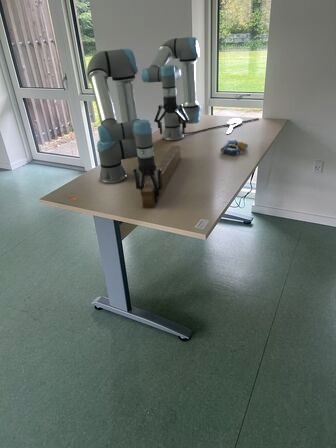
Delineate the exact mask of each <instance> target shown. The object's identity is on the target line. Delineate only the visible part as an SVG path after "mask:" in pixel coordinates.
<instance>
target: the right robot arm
mask: <svg viewBox="0 0 336 448" xmlns="http://www.w3.org/2000/svg"><path fill="white" fill-rule="evenodd" d="M200 50H201V49H200V45H199V41H198V38H196V37H194V36H188V37H178V38H177V37H176V38H171V39H168V40H166V41H165V42H164V43H163V44H161V46H160V47H159V48H158V50H157V54H156V56H155V58H154V59H153V61H152V62H151V64H150V65H149V67H145V68H142V70H141V73H140V75H141V80H142V82H143V83H148V84H150V83H161V87H162V88H161V89H162V96H163V97H162V99H163V105H162V104H159V105H158V107H157V111H156V115H155V117H154V120H153V122H154V123H157V129H159V135H162V134H163V135H162V139H163V140H164V141H167V142H176V141H180V140H182V139H184V137H185V136H184V135H190V134H191V135H192V134H196V133H197V134H198V133H200V132H204V131H207V130H213V129H216V128H222V127H227V126H229V125H228V123H227V124H221V125H216V126H212V127H207V128H203V129H199V130H196V131H190V132H188V131H187V132H186V129H187V125H194V124H196V125H197V124H199V122H200V121H201V116H202V106H200V105H199V102H198V101H197V87H196V86H197V85H196V84H197V81H196V63H197V61H198V58H200V52H201V51H200ZM173 59H176V60H178V61H179V63H180V64H181V68H180V67H179V66H176V65H174V64H167V63H168V62H170V61H171V60H173ZM181 75H182V93H183V95H182V96H183V102H182V103H181V104H179V103H178V98H177V85H176V83H177V81H178V80H179V79H180V78H181ZM162 109H163V113H161V111H162ZM160 114H161V116H160ZM162 120H163V121H164V130H163V124H162ZM258 120H260V118H259V117H257V118H252V119H248V120H242V122H241V124H243V123H247V122H252V121H258ZM236 123H238V122H236ZM236 123H231V124H236Z"/></svg>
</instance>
